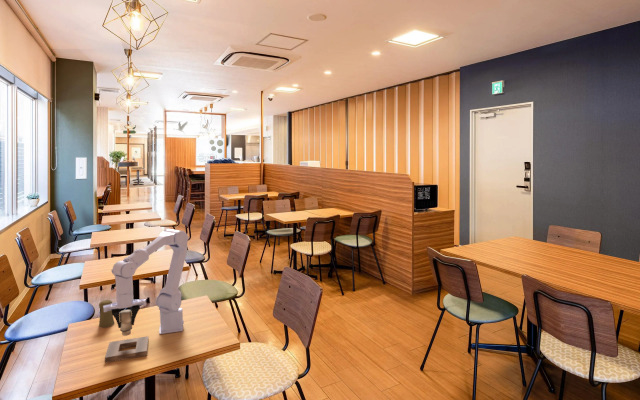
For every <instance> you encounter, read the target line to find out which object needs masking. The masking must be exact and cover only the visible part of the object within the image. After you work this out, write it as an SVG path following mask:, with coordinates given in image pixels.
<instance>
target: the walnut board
mask: <svg viewBox="0 0 640 400" xmlns="http://www.w3.org/2000/svg"><path fill="white" fill-rule="evenodd" d="M133 347H135V348H133ZM126 348H132V349H126ZM121 349H125V350H121ZM148 349H149V336H148V335H147V336H141V337H133V338H129V339H128V338H126V339H120V340H114V341H109V342H108V346H107V349H106V352H105V356H104V364H107V363H112V362H117V361H124V360H129V359H130V360H131V359H134V358H135V359H136V358H141V357H142V358H143V357H147V356H148V351H149V350H148Z"/></svg>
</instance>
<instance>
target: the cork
mask: <svg viewBox="0 0 640 400" xmlns="http://www.w3.org/2000/svg"><path fill="white" fill-rule="evenodd" d="M109 304H113V301H112V300H111V299H103V300H101V301H100V302H99V303H98V308H99V309H100V313H99V321H98V323H99V324H98V327H99V328H102V329H103V328H109V327H111V326H114V324H115V318H114V316H113V314H112V310H111V311H107V312H104V309H103V306H105V305H109Z"/></svg>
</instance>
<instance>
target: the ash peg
mask: <svg viewBox="0 0 640 400" xmlns="http://www.w3.org/2000/svg"><path fill="white" fill-rule="evenodd" d="M119 314H120V326H121V328H119V330H120V331H121V335H122V337H123V336H124V337H125V336H129V335H131V332H132V331H131V330H132V329H133V325H132V312H131V309H123V310H121V311H119Z"/></svg>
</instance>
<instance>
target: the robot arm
mask: <svg viewBox="0 0 640 400" xmlns="http://www.w3.org/2000/svg"><path fill="white" fill-rule="evenodd" d="M189 239H190V238H189V235H188V234H187V233H186V231H185V230H178V229H172V228H165V229H164V230H163V231H161V232H160V233H159V235H158V236H156V238H155V239H154V240H152V241H151V242H150V243H149V244H148V245H146V246H145V247H144V248H138V249H137V248H136V249H135V250H133V252H132V253H131V254H129V255H128V256H126V257H124V258H123V260H119V261H116V262H115V263H114V264H113V266H112V269H111V270H110V271H111V273H112V275H114V280H115V295H116V302H112V304H109V305H105V306H103V309H104V312H107V311H111V310H112V314H113V319H114V320H115V321H116V323H117V328H118V329H120V328H121V326H120V310H121V309H126V308H130V310H131V316H132V326H134V325H135V321H136V317H137V315H138V312H139V310H140V306H146V305H147V299H146V298H140V299H134V285H133V283H134V282H133V276H134V275H135V274H136V271H137V270H138V268H140V267H141V266H143V265H144V264H145V263H146V262H148V261H149V259H150V256H151V255H152V254H154V253H155V252H156V251H158V250H159V249H161V248H162V247H164V246H169V247H170V248H171V250H172V256H171V260H170V263H169V268H168V272H167V273H168V274H167V276H166V282H165V285H164V286H163V288H161V289H160V290H159V293H158V295H157V297H156V299H155V305H156V306H157V307H158V310H159V317H160V318H159V319H160V321H159V323H160V324H159V332H158V333H159V335H163V334H170V333H176V332H183V331H184V324H185V323H184V316H183V315H184V313H183V307H181V305H182V292H181V291H180V289H179V286H180V282H181V277H182V273H183V269H184V264H185V260H186V256H187V253H188V252H187V251H188V241H189Z"/></svg>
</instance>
